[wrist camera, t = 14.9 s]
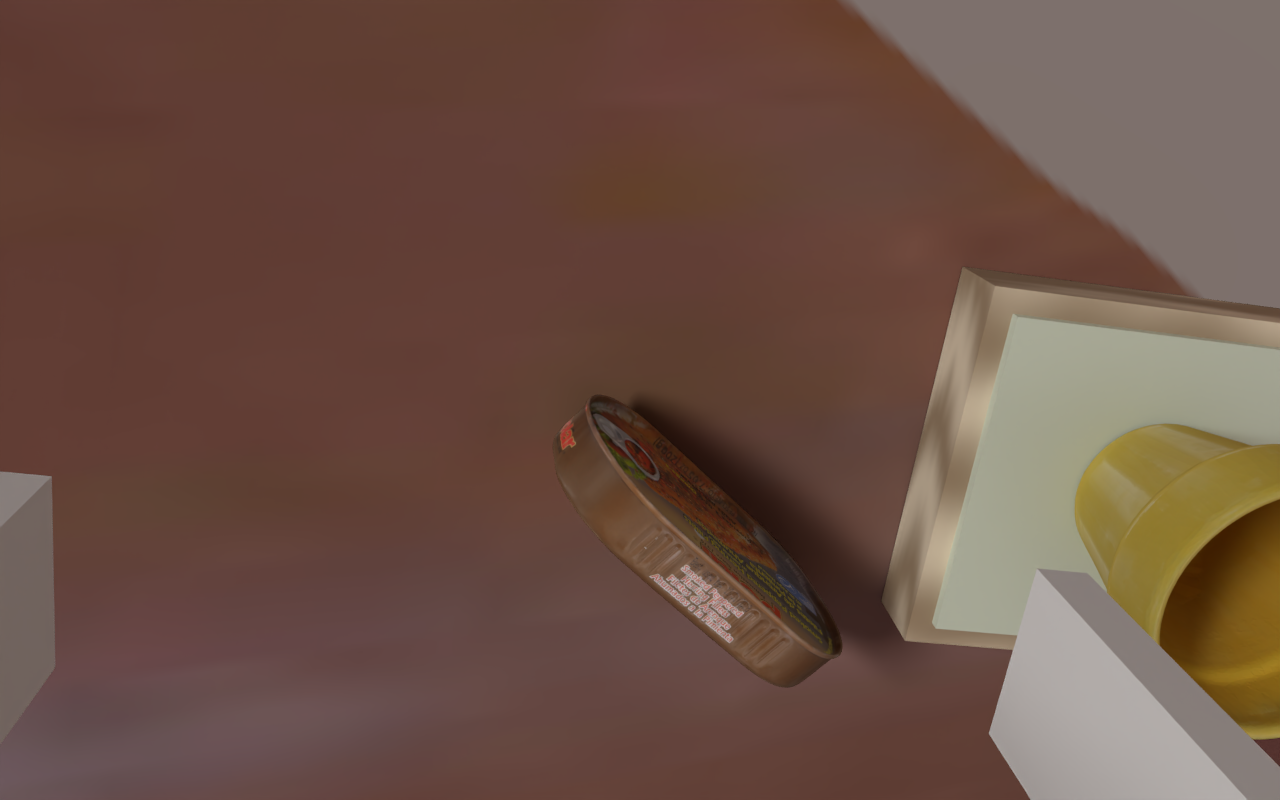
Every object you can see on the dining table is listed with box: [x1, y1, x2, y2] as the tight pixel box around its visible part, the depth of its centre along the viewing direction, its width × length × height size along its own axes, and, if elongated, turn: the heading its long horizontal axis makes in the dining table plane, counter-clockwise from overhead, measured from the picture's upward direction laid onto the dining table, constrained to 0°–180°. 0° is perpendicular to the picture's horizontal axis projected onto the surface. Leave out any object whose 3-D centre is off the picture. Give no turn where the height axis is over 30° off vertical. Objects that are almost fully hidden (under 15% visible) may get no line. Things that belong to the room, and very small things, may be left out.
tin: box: [553, 395, 842, 688], centre depth 46 cm, size 15×3×8 cm, turn 44°
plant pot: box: [1075, 424, 1280, 739], centre depth 43 cm, size 10×10×10 cm
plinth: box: [881, 267, 1280, 650], centre depth 49 cm, size 16×16×4 cm
